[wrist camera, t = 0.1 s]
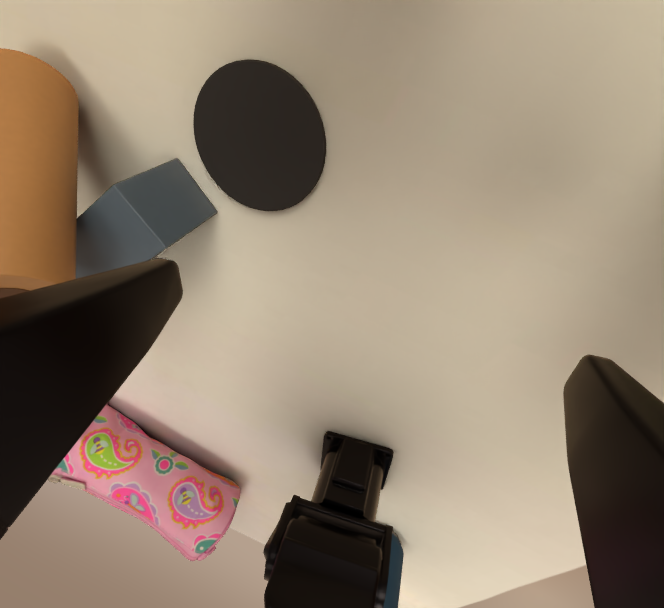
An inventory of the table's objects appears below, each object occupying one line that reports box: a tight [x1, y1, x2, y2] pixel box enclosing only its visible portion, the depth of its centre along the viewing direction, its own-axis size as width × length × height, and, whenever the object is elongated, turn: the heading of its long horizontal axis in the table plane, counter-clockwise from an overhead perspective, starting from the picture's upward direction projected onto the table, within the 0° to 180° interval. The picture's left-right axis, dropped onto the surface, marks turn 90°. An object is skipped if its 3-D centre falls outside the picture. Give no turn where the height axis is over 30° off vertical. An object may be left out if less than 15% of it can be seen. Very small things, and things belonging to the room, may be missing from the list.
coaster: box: [194, 60, 326, 211], centre depth 22 cm, size 8×8×1 cm
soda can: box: [383, 531, 404, 608], centre depth 39 cm, size 7×7×12 cm
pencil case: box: [48, 404, 241, 561], centre depth 42 cm, size 21×9×9 cm, turn 57°
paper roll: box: [0, 49, 79, 298], centre depth 20 cm, size 13×5×13 cm, turn 33°
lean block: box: [76, 159, 217, 279], centre depth 24 cm, size 4×9×6 cm, turn 124°
